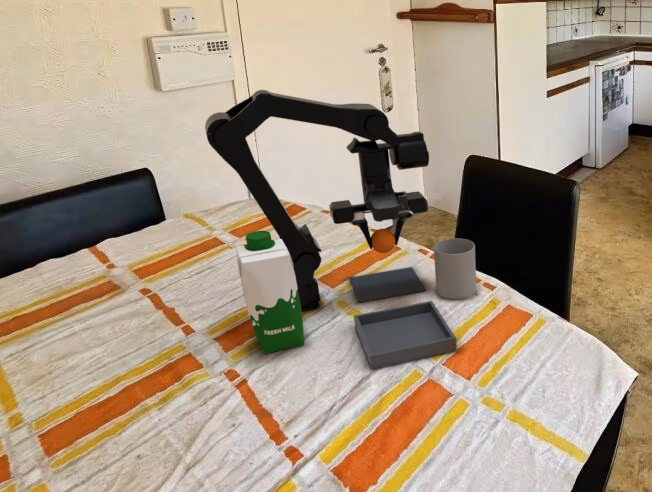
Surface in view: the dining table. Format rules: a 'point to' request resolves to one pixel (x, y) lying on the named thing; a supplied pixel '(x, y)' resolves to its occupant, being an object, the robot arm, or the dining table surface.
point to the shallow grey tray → (404, 334)
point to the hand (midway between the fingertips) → (383, 246)
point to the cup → (455, 268)
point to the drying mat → (386, 284)
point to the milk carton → (270, 292)
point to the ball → (383, 240)
